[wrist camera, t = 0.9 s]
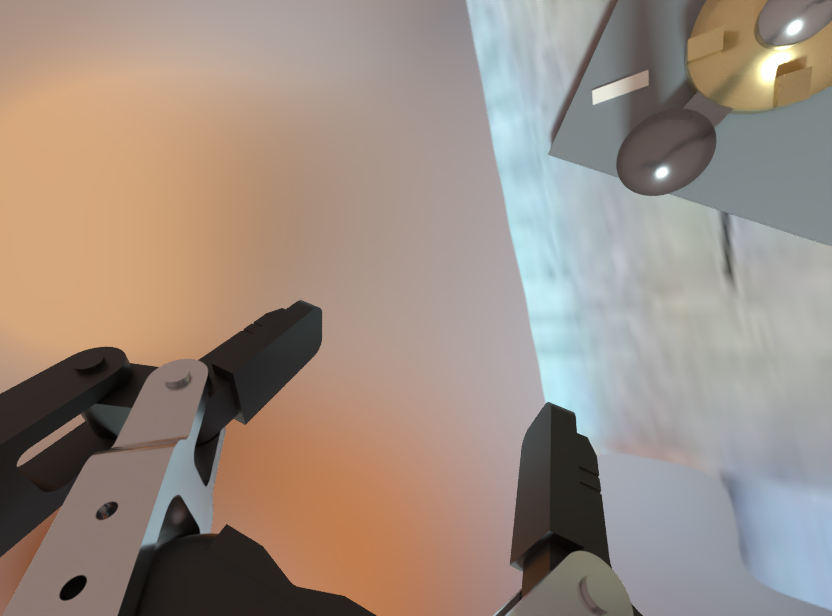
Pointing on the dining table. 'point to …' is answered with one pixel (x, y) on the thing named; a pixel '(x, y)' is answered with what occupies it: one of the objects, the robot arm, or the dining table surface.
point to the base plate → (736, 134)
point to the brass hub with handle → (730, 84)
